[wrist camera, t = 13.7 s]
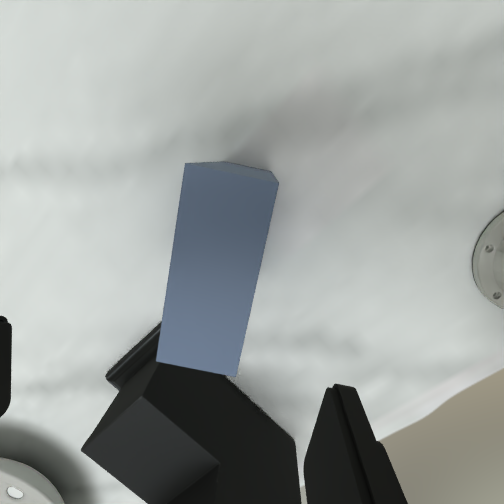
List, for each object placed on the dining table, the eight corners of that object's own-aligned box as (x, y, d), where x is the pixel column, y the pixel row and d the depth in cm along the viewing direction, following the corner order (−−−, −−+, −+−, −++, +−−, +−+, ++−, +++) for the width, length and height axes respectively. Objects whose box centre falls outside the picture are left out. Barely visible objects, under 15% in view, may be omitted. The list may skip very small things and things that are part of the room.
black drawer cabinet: (105, 372, 42) (-77, 618, 20) (164, 318, 40) (34, 524, 17) (237, 482, 46) (212, 794, 23) (296, 438, 44) (332, 735, 21)
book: (223, 161, 35) (184, 163, 18) (271, 171, 35) (278, 183, 18) (204, 269, 38) (155, 361, 21) (248, 278, 38) (235, 376, 21)
